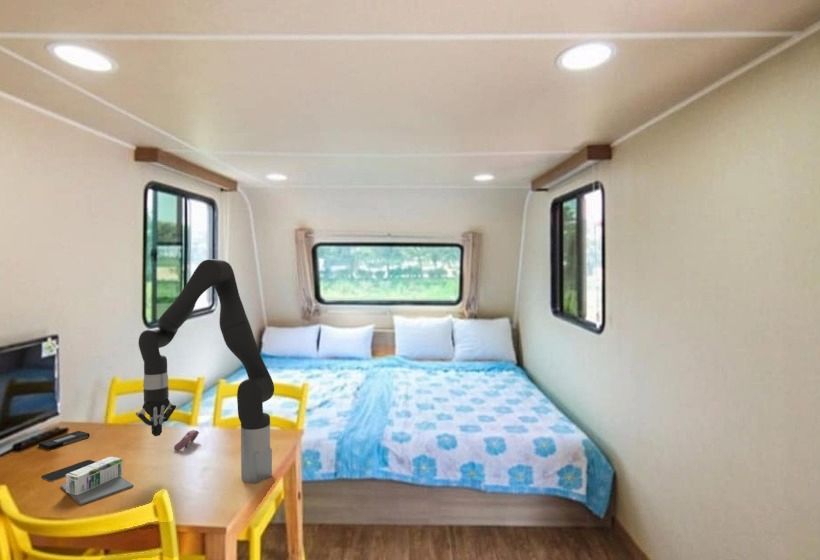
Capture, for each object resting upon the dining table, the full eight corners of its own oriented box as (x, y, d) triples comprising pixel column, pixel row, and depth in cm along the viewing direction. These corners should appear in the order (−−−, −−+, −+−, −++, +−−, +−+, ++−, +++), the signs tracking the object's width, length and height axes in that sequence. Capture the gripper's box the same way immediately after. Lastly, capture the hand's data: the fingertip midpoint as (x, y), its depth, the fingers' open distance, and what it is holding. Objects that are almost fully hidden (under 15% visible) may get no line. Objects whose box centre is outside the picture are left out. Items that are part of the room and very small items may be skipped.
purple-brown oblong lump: (182, 455, 171) (190, 439, 171) (172, 449, 171) (180, 433, 171) (195, 445, 181) (203, 429, 181) (185, 439, 181) (192, 424, 181)
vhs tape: (89, 438, 185) (89, 433, 185) (50, 451, 172) (49, 446, 172) (78, 435, 188) (78, 430, 188) (38, 448, 175) (38, 443, 175)
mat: (133, 486, 143) (133, 484, 143) (80, 505, 132) (80, 503, 132) (110, 471, 154) (110, 469, 154) (60, 487, 143) (60, 485, 143)
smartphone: (100, 463, 160) (51, 480, 146) (100, 465, 160) (51, 483, 146) (88, 459, 163) (39, 476, 150) (88, 461, 163) (39, 478, 150)
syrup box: (123, 475, 150) (77, 496, 136) (110, 472, 152) (64, 492, 138) (122, 458, 150) (77, 477, 136) (110, 455, 152) (64, 474, 138)
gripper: (140, 391, 149) (141, 443, 149) (180, 383, 159) (181, 432, 160) (130, 388, 153) (131, 438, 154) (170, 380, 164) (171, 427, 164)
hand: (156, 435), depth 157 cm, fingers closed
